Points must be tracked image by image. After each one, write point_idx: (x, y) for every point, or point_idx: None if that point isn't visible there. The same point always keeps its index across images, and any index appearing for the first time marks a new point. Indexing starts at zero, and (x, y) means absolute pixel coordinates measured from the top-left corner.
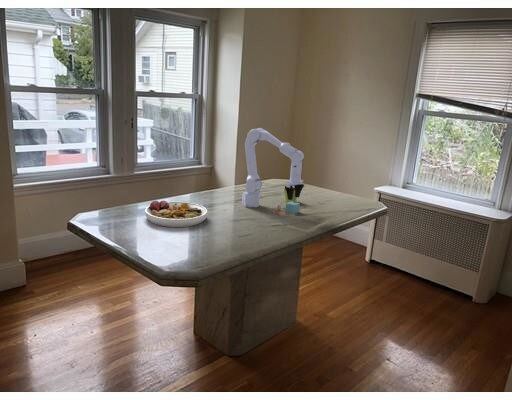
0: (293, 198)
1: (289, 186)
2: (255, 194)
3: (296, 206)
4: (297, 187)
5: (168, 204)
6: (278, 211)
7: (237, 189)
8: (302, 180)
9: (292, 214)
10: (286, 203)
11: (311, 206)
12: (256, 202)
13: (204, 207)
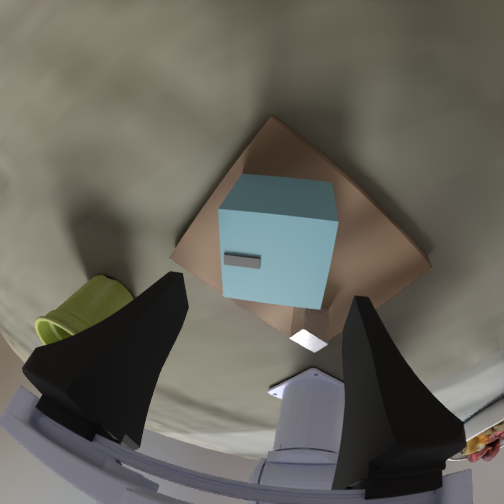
0: (97, 306)
1: (470, 484)
2: (332, 447)
3: (295, 206)
4: (130, 396)
5: (477, 452)
6: (340, 294)
7: (165, 429)
8: (11, 435)
9: (348, 189)
10: (320, 305)
11: (48, 197)
12: (327, 406)
13: (484, 430)
